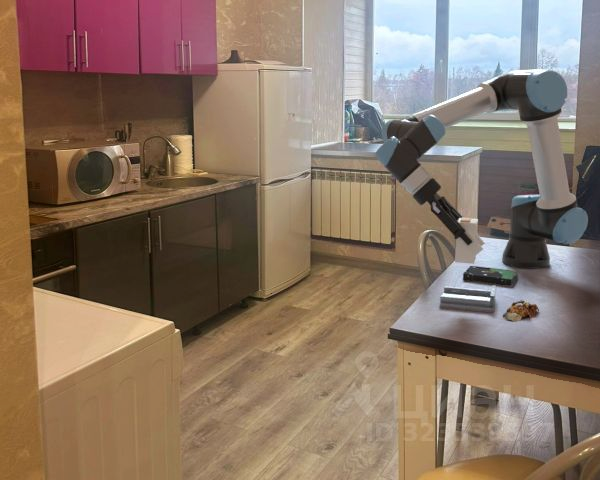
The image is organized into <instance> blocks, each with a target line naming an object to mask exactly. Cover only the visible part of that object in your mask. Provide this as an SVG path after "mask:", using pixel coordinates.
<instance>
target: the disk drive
mask: <svg viewBox="0 0 600 480" xmlns="http://www.w3.org/2000/svg"><path fill="white" fill-rule="evenodd" d="M518 276H519V275H518V271H516V270H511V269H502V268H494V267H485V266H484V267H483V266H478V265H477V266H476V265H470V266H469V267H468V268H467V269H466V271H464V272H463V274H462V281H466V282H475V283H481V284H482V283H483V284H488V285H489V284H490V285H495V286H497V285H498V286H505V287H513V285H514V284H515V282H516V281H517V279H518Z"/></svg>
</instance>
